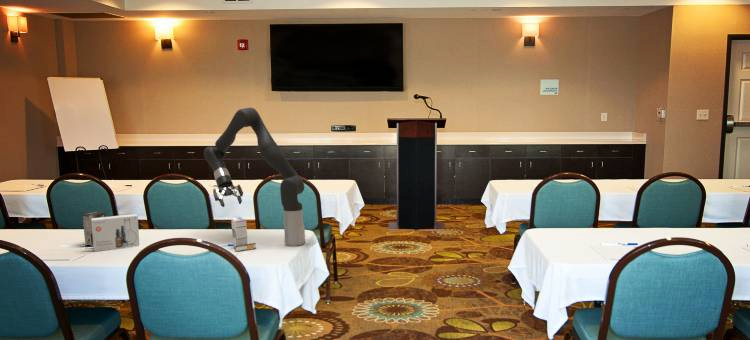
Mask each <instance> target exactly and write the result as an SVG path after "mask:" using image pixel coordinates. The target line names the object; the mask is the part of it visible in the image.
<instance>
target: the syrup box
mask: <svg viewBox="0 0 750 340" xmlns="http://www.w3.org/2000/svg"><path fill="white" fill-rule="evenodd" d="M230 219H231V220H230V221H231V237H232V247H233V248H234V249H235V246H238V245H244V244H249V243H248V242H249V241H248V230H247V229H248V228H247V219H246V218H245V217H242V216H238V217H233V218H230Z"/></svg>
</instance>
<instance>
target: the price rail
mask: <svg viewBox="0 0 750 340" xmlns="http://www.w3.org/2000/svg"><path fill="white" fill-rule="evenodd" d="M255 249H257V243H256V242H252V243H248V244H244V245H238V246H235V248H234V252H235V251H236V252H237V251H238V252H242V251H249V250H250V251H251V250H255ZM238 252H237V253H238Z"/></svg>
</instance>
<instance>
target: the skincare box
mask: <svg viewBox="0 0 750 340" xmlns="http://www.w3.org/2000/svg"><path fill="white" fill-rule="evenodd" d="M138 217H139V216H138V214H137V213H133V214H123V215H114V216H113V215H112V216H105V217H101V218H91V221H92V236H93V246H92V248H93V252H102V251H109V249H111V250H118V248H119V249H124V248H126V247H127V248H134V247H133V246H135V247H140V246H139V245H140V233H139V232H140V231H139V218H138ZM101 250H102V251H101Z"/></svg>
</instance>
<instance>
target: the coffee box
mask: <svg viewBox="0 0 750 340" xmlns="http://www.w3.org/2000/svg"><path fill="white" fill-rule="evenodd" d="M101 217H106V212H104V211H93V212H88V213H84V214H82V223H83V225H82V226H83V234H84V245H85V246H87V245H91V246H92V247H93V236H92V221H91V218H101ZM91 246H90V247H91Z"/></svg>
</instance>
